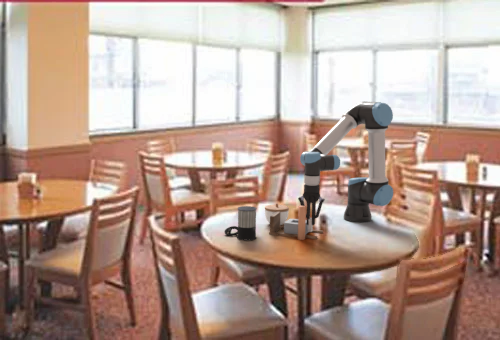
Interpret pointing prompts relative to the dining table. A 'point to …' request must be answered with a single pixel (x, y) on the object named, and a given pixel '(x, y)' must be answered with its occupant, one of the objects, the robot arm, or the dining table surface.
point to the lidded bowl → (277, 208)
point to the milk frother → (245, 224)
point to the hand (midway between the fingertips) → (310, 231)
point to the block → (293, 226)
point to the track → (276, 226)
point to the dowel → (301, 222)
